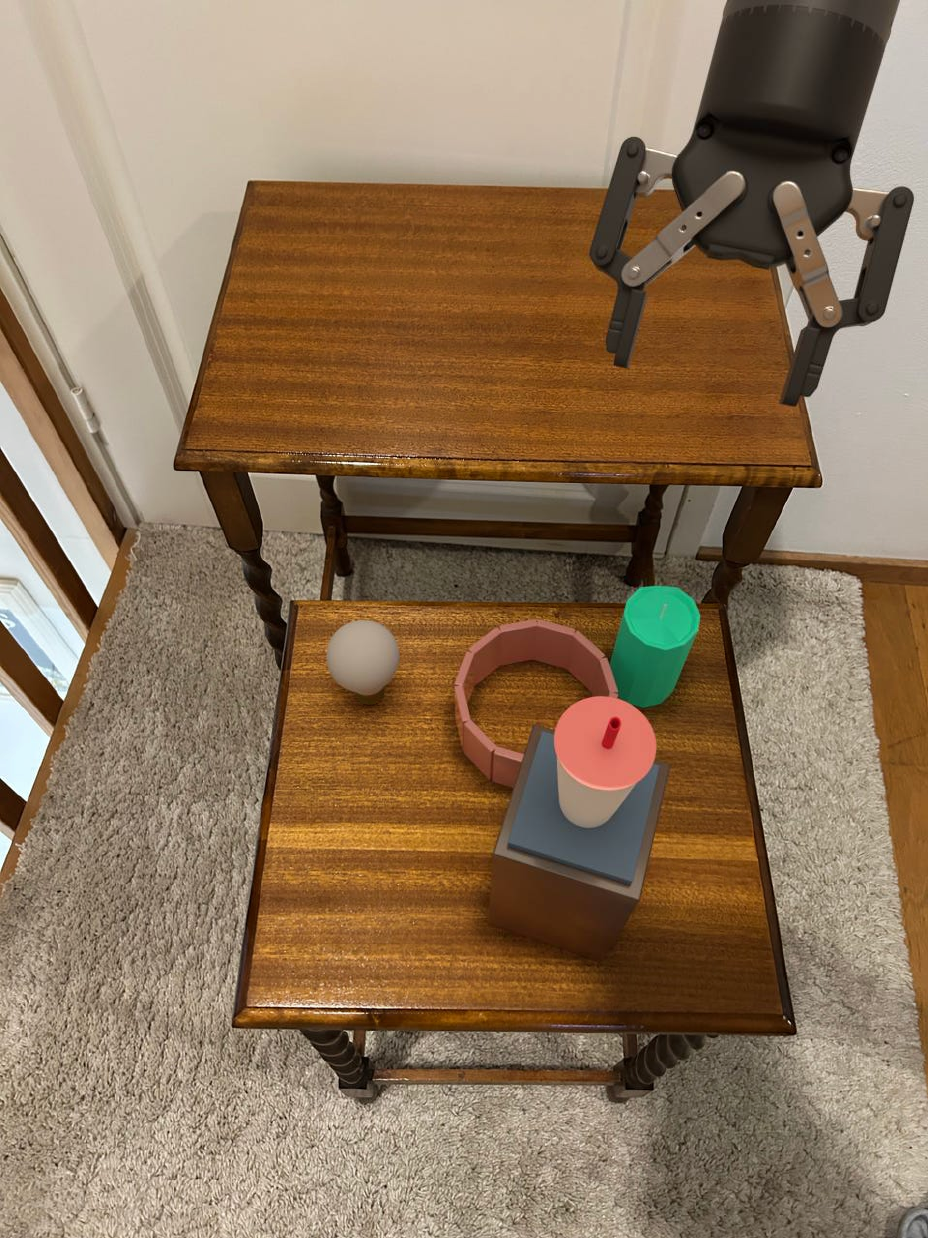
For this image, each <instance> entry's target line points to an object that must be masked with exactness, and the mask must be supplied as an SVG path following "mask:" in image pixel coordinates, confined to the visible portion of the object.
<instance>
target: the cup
mask: <svg viewBox="0 0 928 1238" xmlns="http://www.w3.org/2000/svg"><path fill="white" fill-rule="evenodd" d="M554 730H555V734H554V746H555V751H556V754H557V772H558V793H559V804H560V808H561V810H562V812H563V814H564V815H565V817H566V818H567V819H568V820H569V821H570V822H572V823H573V824H575V825H577V826H580V827H585V828H593V827H598V826H600V825H602V824H604V823H605V822H607V821H608V820H609V819H610V817H611V816H612V815H613V814H614V812H615V811H616V810H617V809H618V807H619V806H620V805H621V803H622V802H623V801H624V800H625V798H626V797H627V796H628V794H629V793H630V792H631V790H632V789H633V788H634V786H635V785H636V784H637V782H638V781H640V780H641V779H642V778H643V777H644V776H645V775H646V774H647V773H648V771H649V770H650V768H651V767H652V765H653V762H654V759H655V760H656V755H657V740H656V735H655V734H656V733H655V731H654V729H653V727H652V725H651V723H650V721H649V720H648V718H647V717H646V716H645V715H644V714H643V712H641V711H640V710H639V709H638V708H636V706H635V705H631V704H629V703H627V702H625V701H623V700H622V699H621V698H613V697H606V696H597V697H592V696H590V697H587V698H584V699H581V700H579V701H577V702H575V703H573V704H572V705H570V706H569V707H568V708H567V709H566V710H565V711H564V712H563V714H562V715H561V716H560V717H559V719H558V721H557V723H556V726H555V728H554Z"/></svg>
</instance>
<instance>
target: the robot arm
mask: <svg viewBox="0 0 928 1238" xmlns="http://www.w3.org/2000/svg"><path fill="white" fill-rule="evenodd" d="M900 2H901V0H726V2H725V4H724V7H723V11H722V17H721V21H720V26H719V30H718V33H717V37H716V40H715V45H714V48H713V51H712V57H711V61H710V64H709V68H708V71H707V76H706V79H705V80H706V81H705V84H704V87H703V91H702V95H701V98H700V102H699V106H698V110H697V113H696V117H695V121H694V124H693V125H694V126H693V129H692V133H691V136H690V137H689V140H688V142H687V143H686V145H685V146H684V148H682V150H681V151H680V152H679V153H678V154H675V153H671V152H668V151H664V150H659V149H655V148H652V147H648V146H646V144H645V142H644V140H643V139H642V138H640V137H638V136H630V137H629V136H628V137H627V138H625V140H624V141H623V142H622V143H621V146H620V149H619V151H618V155H617V158H616V162H615V165H614V168H613V171H612V174H611V178H610V181H609V185H608V188H607V191H606V194H605V197H604V198H605V199H604V201H603V205H602V208H601V212H600V214H599V218H598V221H597V224H596V228H595V231H594V234H593V238H592V241H591V244H590V247H589V251H588V252H589V258H590V261H591V262H592V264H593V265H594V267H595V268H596V269H597V270H598V271H599V272H600V273H601V272H602V273H603V274H605V275H606V276H608V277H609V278H611V279H612V280H614V281H615V282H616V285H617V292H616V297H615V301H614V305H613V308H612V312H611V316H610V320H609V324H608V329H607V333H606V337H605V348H606V352H607V353H609V354H614V358H613V366H614V367H616V368H622V369H625V370H629V369H630V365H631V361H632V357H633V355H634V354H633V353H634V351H635V350H634V349H635V346H636V342H637V339H638V335H639V330H640V327H641V323H642V320H643V315H644V311H645V308H646V304H647V300H648V295H647V291H646V287H648V286H649V285H650V284H651V283H652V282H654V281H655V280H656V279H657V278H658V277H659V276H661V275H662V274H663V273H664V272H665V271H666V270H667V269H669V268H670V267H671V266H673V265H675V264H676V263H678V261H679V260H681V259H682V258H683V257H684V256H685V255H687V254H688V253H689V252H691V250H692V249H694V248H695V247H696V248H697V250H698V251H700V252H701V253H702V254H704V255H706V258H708V259H711V260H715V261H716V260H717V261H723V262H724V261H735V260H739V261H740V262H743V263H745V264H746V265H748V266H751V267H753V268H756V269H761V270H766V271H769V270H770V269H773V268H778V267H781V266H784V265H785V267H786V270H787V272H788V275H789V277H790V278H789V279H790V280H791V283H792V285H793V287H794V289H795V291H796V292H797V294H798V297H799V299H800V302H801V304H802V308H803V309H804V312H805V315H806V317H807V320H808V321H807V324H806V326H804V327H803V328H802V329H801V330H799V331H800V332H799V335H798V338H797V341H796V345H795V348H794V351H793V355H792V357H791V361H790V364H789V368H788V371H787V375H786V378H785V381H784V385H783V387H782V390H781V394H780V398H779V403H778V404H779V405H783V406H786V407H790V408H791V407H792V408H796V407H797V406H798V404H799V400H800V398H801V397H805V398H810V397H811V396H812V395H813V394H814V392H815V391H816V390H817V389H818V387H819V384H820V380H821V378H822V377H821V376H822V374H823V372H824V368H825V364H826V362H827V358H828V355H829V351H830V348H831V346H832V343H833V339H834V337H835V335H836V333H837V332H839V330H841V329H846V328H854V327H865V326H868V325H870V324H872V323H875V322H877V321H878V320H880V319H881V318H882V317H883V316H884V314H885V313H886V309H887V305H888V302H889V299H890V294H891V290H892V286H893V282H894V279H895V275H896V272H897V267H898V263H899V260H900V256H901V253H902V252H901V251H902V249H903V244H904V241H905V237H906V232H907V229H908V224H909V221H910V217H911V213H912V210H913V206H914V202H915V196H914V192H913V190H911V188H909V187H907V186H903V185H900V186H896V187H894V188H893V189H891V190H890V191H888V190H887V191H886V190H880V189H879V190H878V189H870V188H863V187H862V188H861V187H854V186H853V182H852V178H851V166H852V160H853V157H854V154H855V150H856V147H857V144H858V140H859V138H860V134H861V130H862V127H863V124H864V120H865V118H866V114H867V110H868V108H869V104H870V101H871V97H872V94H873V91H874V87H875V84H876V81H877V78H878V74H879V72H880V68H881V64H882V61H883V58H884V54H885V52H886V48H887V44H888V42H889V40H890V37H891V33H892V29H893V26H894V22H895V19H896V14H897V11H898V9H899V5H900ZM663 180H671V183H672V187H673V190H674V193H675V196H676V199H677V201H678V204H679V206H680V209H681V213H679V214H678V215H677V216H676V217H674V219H672V221H670V222H669V223H668V224H667V225H666V226H665V227H664V228H663V229H661V231H659V232H658V233H657V234H656V235H655V237H654V238H653V239H652V240H651V241H650V242H649V243H648V244H647V245H646V246H644V248H642V249H641V250H640V251H639V252H638V253H637V254H636V255H634V256H633V257H632V256H630V255H629V254H627V253H626V252H624V251H623V250H622V247H623V243H624V241H625V239H626V238H625V237H626V234H627V231H628V228H629V225H630V222H631V218H632V215H633V211H634V208H635V205H636V201H637V198H646V197H649V196H650V195H652V194H653V192H654V191H655V189H656V187H657V185H658V184H659V183H660V182H661V181H663ZM845 213H848V214H850V215H852V216H853V218H854V220H855V233H856V235H857V237H858V238H859V239H860V240H862V241H866V242H867V243H866V247H865V251H864V255H863V259H862V263H861V267H860V271H859V274H858V279H857V281H856V282H857V283H856V288H855V291H854V295H853V298H846V299H839V297H838V294H837V292H836V289H835V287H834V284H833V281H832V278H831V276H830V269H829V265H828V262H827V260H826V257H825V255H824V252H823V250H822V247H821V244H820V241H819V239H818V237H820V235H821V234H823V233H824V232H825V231H827V230H828V229H829V228H830V227H831V226H832V225H833V224H834V223H835V222H837V221H838V220H839V219H840V218H841V217H842V215H844V214H845Z"/></svg>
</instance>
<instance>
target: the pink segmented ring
mask: <svg viewBox="0 0 928 1238" xmlns="http://www.w3.org/2000/svg"><path fill="white" fill-rule="evenodd" d="M528 661H536V662H540V663H543V664H547V665H549V666H554V667H557V668H561V669H564V670H566V671H568V672H569V673H570V674H571V675H572V676H573V677H574V678H575V679H576V680H578V681H579V683H580V684H581V685H583V686H584V688H586V689H587V690H588V691H589V692H590V693H591V697H597V696H606V697H613V698H617V699H619V697H618V694H617V693H618V689H617V686H616V683H615V680H614V677H613V674H612V671H611V668H610V662H609V660H608V657H606V654H605V653H604V652H602V651H601V649H599V648H598V647H597V646H596V645H595V644H593V642H591V640H589V638H587V637H586V636H585V635H584V634H583V633H581V632H580V631H579V630H576V628H574V627H570V626H566V625H563V624H559V623H555V622H551V621H549V620H545V619H541V618H540V619H539V618H538V620H537V619H536V618H533V619H528V620H527V619H526V620H522V621H517V622H512V623H506V624H500V625H498V627H496V626H495V627H494V628H493V629H492V630H491V631H489V632H488V633H486V634H485V635H484V636H483V637H481V638H480V639H479V640H478V641H477V642H475V643H474V644H473V645H472V646H470V647H469V648H468V649H467V651H466V652H465V655H464V657H463V659H462V662H461V665H460V668H459V670H458V673H457V675H456V678H455V681H454V687H453V688H454V690H453V692H454V719H455V723H456V728H457V733H458V737H459V742H460V745H461V750H462V752H463V754H464V755H465V757H467V758H468V759H469V761H471V763H472V764H473V765H474V766H475V768H477V770H479V771H480V772H481V774H483V775H484V776H485V777H486V778H487V779H488V780H489V781H490V780H491V781H492V783H495V784H499V785H501V786H505V787H508V788H512V789H513V788H514V785H515V781H516V778H517V775H518V772H519V769H520V766H521V762H522V759H523V756H524V753H521V752H517V751H514V750H510V749H508V748H504V747H501V746H499V745H496V743H494V741H492V739H490V737H489V736H488V735H487V734H486V733H484V732H483V730H481V728H480V727H479V726H478V725H476V723H475V722H474V721H473V720H472V718H471V715H470V711H469V706H468V704H469V702H470V699H471V696H472V694H473V690H474V688H475V687H476V686H477V685H478V684H479V683H480V682H482V681H483V680H484V679H486V678H487V677H488V676H490V674H492V673H493V672H494V671H495V670H497V669H498V668H499V667H501V666H507V665H511V664H517V663H523V662H528Z"/></svg>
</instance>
